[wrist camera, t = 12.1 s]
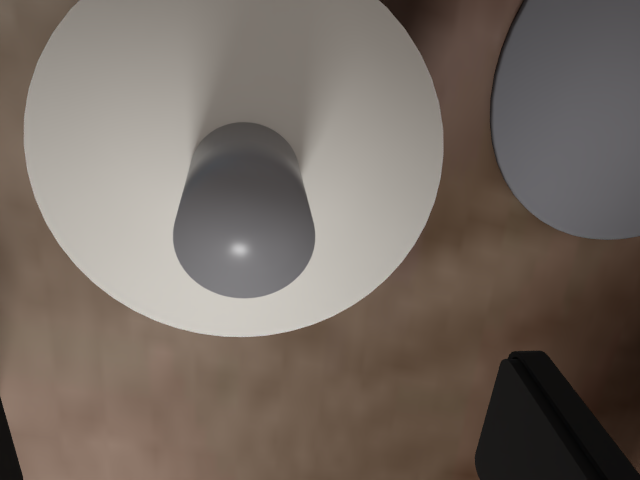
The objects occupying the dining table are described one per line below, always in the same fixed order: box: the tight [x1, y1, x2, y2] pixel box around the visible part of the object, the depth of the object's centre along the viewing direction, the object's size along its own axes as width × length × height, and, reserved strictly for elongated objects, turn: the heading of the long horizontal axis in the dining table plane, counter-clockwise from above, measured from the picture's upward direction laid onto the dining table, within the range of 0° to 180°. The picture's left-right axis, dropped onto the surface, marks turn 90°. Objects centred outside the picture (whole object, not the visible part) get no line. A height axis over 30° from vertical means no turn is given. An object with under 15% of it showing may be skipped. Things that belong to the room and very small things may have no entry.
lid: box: [24, 0, 443, 337], centre depth 17 cm, size 15×15×6 cm
